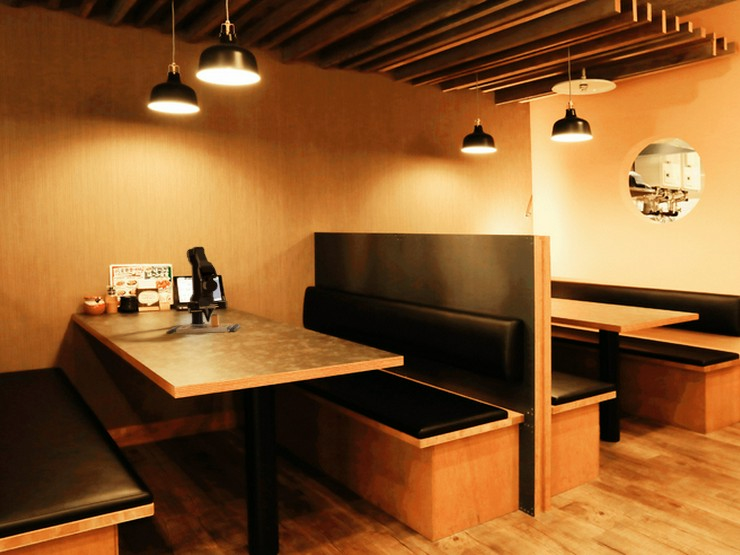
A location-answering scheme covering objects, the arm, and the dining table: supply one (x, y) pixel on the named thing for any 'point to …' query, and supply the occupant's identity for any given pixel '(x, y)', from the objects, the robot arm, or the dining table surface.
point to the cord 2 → (235, 328)
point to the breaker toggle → (215, 319)
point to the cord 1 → (173, 329)
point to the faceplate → (204, 328)
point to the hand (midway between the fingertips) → (208, 321)
